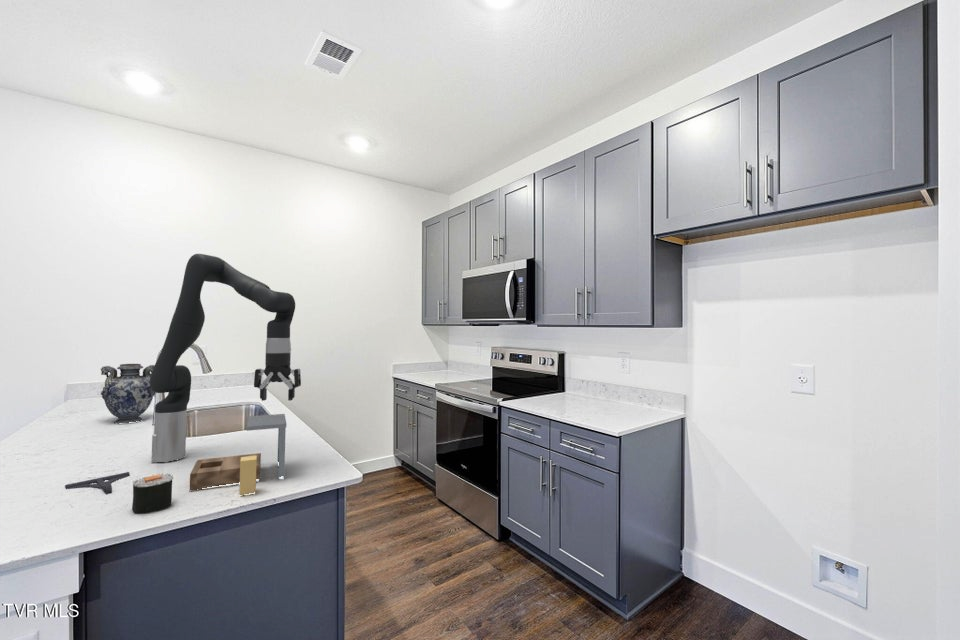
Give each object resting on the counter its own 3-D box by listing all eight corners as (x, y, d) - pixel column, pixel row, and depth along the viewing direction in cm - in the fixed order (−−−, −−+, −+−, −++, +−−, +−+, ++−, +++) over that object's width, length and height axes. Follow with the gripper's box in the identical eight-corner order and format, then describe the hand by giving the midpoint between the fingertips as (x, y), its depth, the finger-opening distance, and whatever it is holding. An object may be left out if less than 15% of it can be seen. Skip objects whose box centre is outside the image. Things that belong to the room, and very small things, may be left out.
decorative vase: (155, 415, 215) (157, 361, 215) (157, 422, 200) (158, 365, 200) (100, 420, 201) (101, 363, 201) (97, 429, 187) (99, 367, 187)
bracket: (73, 504, 111) (74, 493, 111) (64, 489, 120) (65, 480, 120) (141, 489, 122) (141, 479, 122) (128, 477, 132) (128, 468, 132)
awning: (244, 485, 125) (246, 426, 125) (247, 468, 139) (248, 416, 140) (284, 479, 130) (286, 423, 130) (283, 464, 144) (284, 413, 145)
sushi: (175, 506, 110) (176, 476, 110) (134, 516, 103) (136, 484, 103) (168, 497, 115) (169, 469, 115) (129, 507, 109) (130, 476, 109)
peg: (239, 496, 117) (240, 461, 117) (240, 491, 120) (241, 457, 120) (255, 494, 118) (256, 459, 119) (255, 489, 122) (256, 455, 122)
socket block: (189, 491, 119) (190, 474, 120) (196, 475, 132) (197, 459, 132) (259, 481, 128) (260, 465, 128) (260, 467, 140) (260, 453, 140)
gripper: (250, 352, 133) (249, 402, 133) (296, 352, 134) (295, 402, 134) (261, 350, 141) (260, 398, 140) (304, 351, 142) (303, 398, 141)
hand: (277, 400), depth 137 cm, fingers open, 8 cm apart
